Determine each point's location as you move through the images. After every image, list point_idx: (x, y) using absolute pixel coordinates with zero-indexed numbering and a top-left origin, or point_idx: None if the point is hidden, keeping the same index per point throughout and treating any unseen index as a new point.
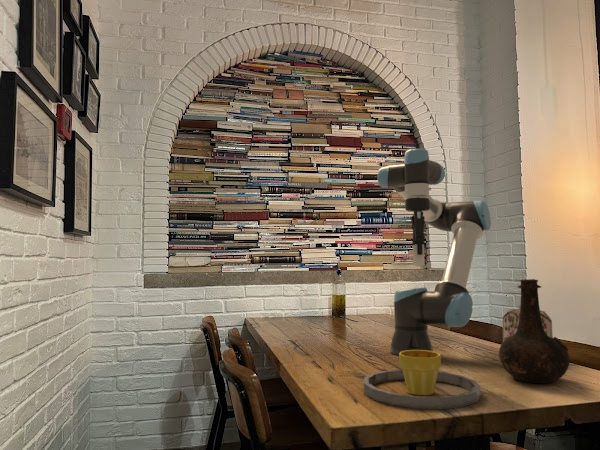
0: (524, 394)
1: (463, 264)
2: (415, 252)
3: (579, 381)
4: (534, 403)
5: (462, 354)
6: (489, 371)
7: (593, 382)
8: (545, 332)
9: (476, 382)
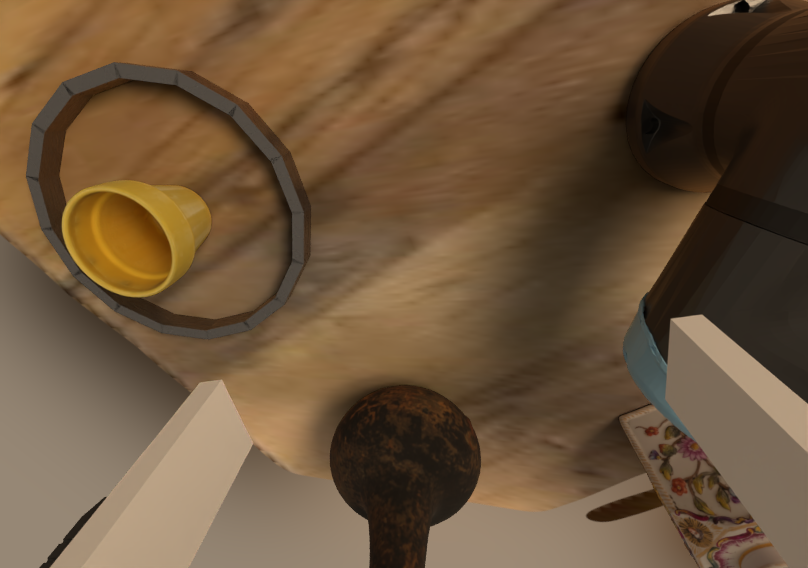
0: (280, 394)
1: None
2: (108, 504)
3: None
4: None
5: None
6: (461, 345)
7: None
8: (674, 524)
9: (237, 332)
